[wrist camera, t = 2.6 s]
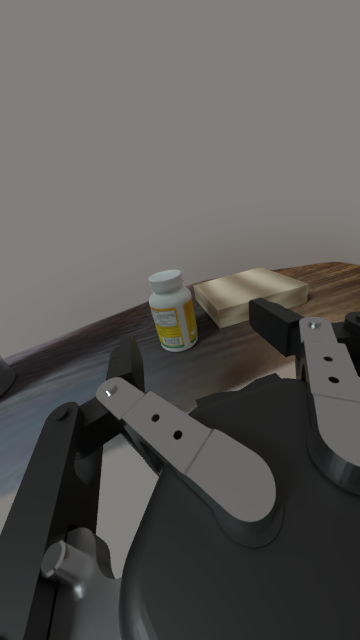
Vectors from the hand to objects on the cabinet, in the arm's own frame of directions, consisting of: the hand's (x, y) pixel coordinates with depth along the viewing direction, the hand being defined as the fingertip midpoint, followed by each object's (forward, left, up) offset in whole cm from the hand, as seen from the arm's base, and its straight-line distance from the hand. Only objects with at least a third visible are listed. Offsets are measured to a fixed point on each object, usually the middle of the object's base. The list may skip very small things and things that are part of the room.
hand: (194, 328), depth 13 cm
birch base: (+13, +17, -9) cm, 23 cm away
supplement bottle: (0, +11, -9) cm, 14 cm away
